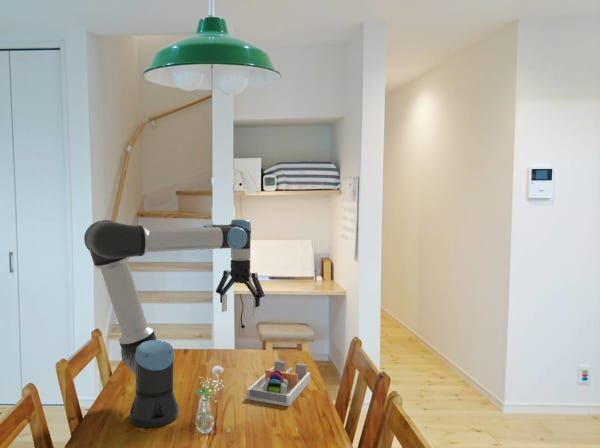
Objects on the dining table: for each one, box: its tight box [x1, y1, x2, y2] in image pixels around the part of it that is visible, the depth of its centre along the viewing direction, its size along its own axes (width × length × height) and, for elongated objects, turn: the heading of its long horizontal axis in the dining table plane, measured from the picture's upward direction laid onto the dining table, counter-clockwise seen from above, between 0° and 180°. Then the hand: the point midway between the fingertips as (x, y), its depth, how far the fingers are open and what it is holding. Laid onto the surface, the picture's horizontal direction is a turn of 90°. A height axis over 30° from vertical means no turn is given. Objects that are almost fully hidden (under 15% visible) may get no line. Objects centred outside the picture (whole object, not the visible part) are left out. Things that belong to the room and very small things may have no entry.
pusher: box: [264, 366, 298, 388], centre depth 178 cm, size 11×13×5 cm
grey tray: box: [246, 359, 311, 407], centre depth 173 cm, size 24×16×6 cm, turn 161°
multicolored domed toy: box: [263, 371, 289, 394], centre depth 168 cm, size 8×10×7 cm
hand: (239, 313), depth 180 cm, fingers open, 13 cm apart
